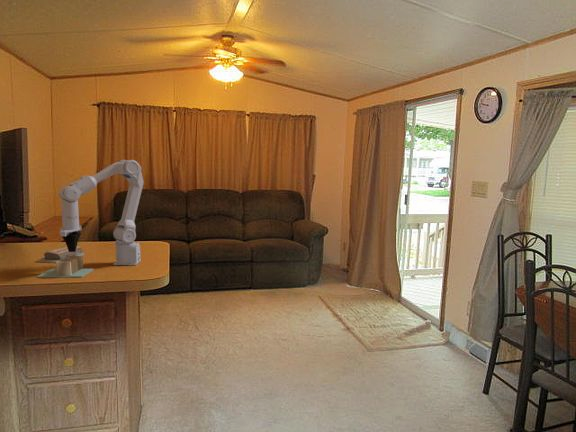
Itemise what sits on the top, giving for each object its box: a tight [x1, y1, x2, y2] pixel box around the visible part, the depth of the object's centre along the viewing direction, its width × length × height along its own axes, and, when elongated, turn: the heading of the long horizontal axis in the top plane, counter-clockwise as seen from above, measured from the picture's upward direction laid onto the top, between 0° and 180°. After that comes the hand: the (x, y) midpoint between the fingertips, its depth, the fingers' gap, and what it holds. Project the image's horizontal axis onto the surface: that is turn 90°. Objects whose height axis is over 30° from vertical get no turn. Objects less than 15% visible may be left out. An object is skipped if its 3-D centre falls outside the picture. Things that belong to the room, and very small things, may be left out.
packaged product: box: [37, 245, 87, 264], centre depth 181 cm, size 18×5×10 cm
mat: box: [36, 268, 94, 279], centre depth 156 cm, size 16×11×1 cm
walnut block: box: [55, 255, 84, 275], centre depth 157 cm, size 5×5×11 cm
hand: (72, 251), depth 159 cm, fingers closed
